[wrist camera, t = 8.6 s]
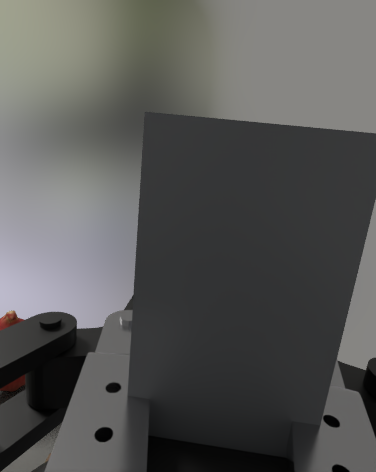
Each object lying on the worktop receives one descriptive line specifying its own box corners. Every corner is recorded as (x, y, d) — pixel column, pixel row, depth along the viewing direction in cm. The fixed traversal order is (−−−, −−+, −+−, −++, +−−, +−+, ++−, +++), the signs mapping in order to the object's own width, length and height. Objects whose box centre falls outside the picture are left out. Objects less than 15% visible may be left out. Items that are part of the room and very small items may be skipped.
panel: (224, 457, 16) (272, 149, 13) (228, 802, 8) (391, 134, 4) (164, 447, 17) (195, 141, 13) (103, 773, 8) (145, 112, 4)
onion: (-39, 414, 27) (-47, 328, 25) (-8, 368, 33) (-13, 295, 31) (36, 412, 28) (33, 329, 26) (53, 368, 34) (52, 297, 31)
